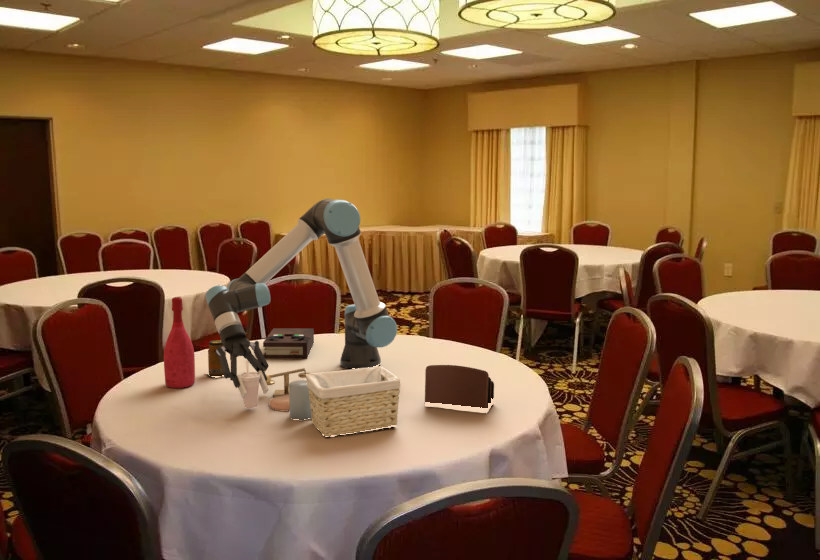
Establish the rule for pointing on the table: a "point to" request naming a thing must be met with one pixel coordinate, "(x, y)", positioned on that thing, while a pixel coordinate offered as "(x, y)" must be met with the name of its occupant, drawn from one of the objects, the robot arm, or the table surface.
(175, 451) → the table surface
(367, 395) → the storage basket
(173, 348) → the wine bottle
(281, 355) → the dark electronic device
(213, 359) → the condiment
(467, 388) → the toaster
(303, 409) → the grey domed cylinder
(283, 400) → the dish
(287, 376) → the balance
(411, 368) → the table surface
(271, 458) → the table surface
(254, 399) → the smoothie
